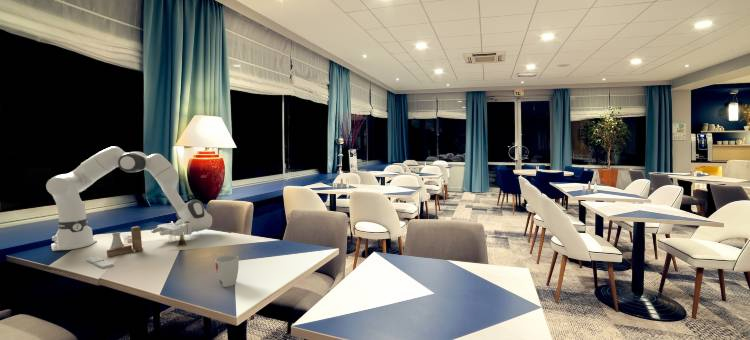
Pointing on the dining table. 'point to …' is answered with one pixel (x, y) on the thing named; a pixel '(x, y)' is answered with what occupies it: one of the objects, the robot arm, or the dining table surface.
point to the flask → (116, 241)
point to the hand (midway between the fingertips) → (156, 232)
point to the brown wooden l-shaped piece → (129, 247)
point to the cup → (227, 269)
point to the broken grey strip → (99, 262)
